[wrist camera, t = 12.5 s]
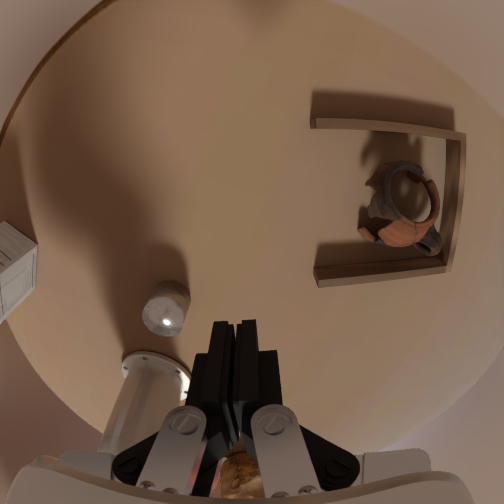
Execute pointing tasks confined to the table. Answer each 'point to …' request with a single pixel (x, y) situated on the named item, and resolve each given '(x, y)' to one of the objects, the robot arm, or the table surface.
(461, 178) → the display frame
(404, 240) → the pottery mug
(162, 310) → the grey tin
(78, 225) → the table surface
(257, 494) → the rough brown rock
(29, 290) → the supplement box
